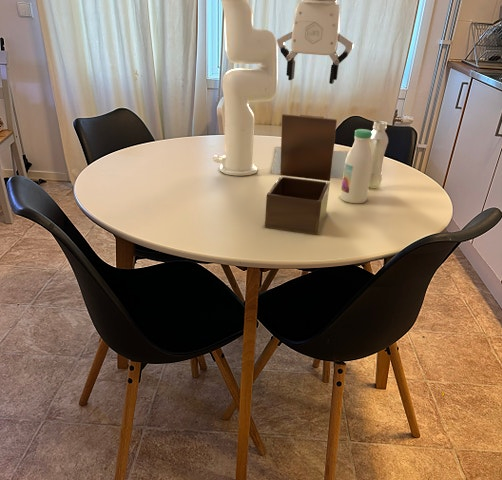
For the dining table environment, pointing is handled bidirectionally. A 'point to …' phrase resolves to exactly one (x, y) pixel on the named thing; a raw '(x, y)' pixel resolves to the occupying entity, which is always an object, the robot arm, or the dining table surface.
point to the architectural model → (337, 163)
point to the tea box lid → (307, 146)
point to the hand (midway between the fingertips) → (311, 81)
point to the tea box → (296, 205)
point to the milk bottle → (357, 169)
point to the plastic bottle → (377, 152)
